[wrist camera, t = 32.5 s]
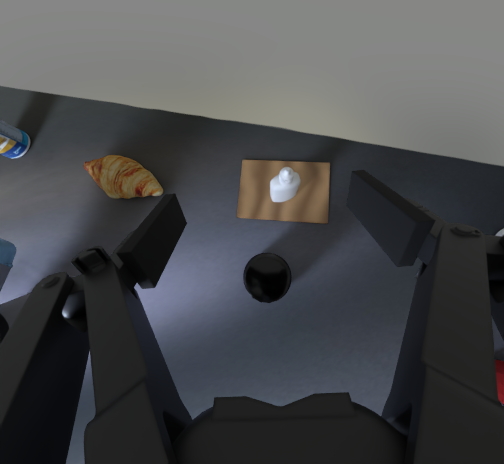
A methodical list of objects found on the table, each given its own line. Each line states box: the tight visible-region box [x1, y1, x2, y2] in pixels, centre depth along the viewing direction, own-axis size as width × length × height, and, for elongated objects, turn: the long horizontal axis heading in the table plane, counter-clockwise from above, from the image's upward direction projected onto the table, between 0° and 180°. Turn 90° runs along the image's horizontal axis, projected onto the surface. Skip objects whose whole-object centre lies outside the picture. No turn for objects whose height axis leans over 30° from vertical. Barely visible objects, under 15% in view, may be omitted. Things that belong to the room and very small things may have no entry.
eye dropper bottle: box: [270, 167, 300, 202], centre depth 37 cm, size 4×6×12 cm
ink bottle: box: [243, 253, 291, 303], centre depth 35 cm, size 10×9×12 cm
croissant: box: [83, 155, 163, 199], centre depth 45 cm, size 21×10×8 cm, turn 71°
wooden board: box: [237, 160, 330, 224], centre depth 44 cm, size 20×14×1 cm
